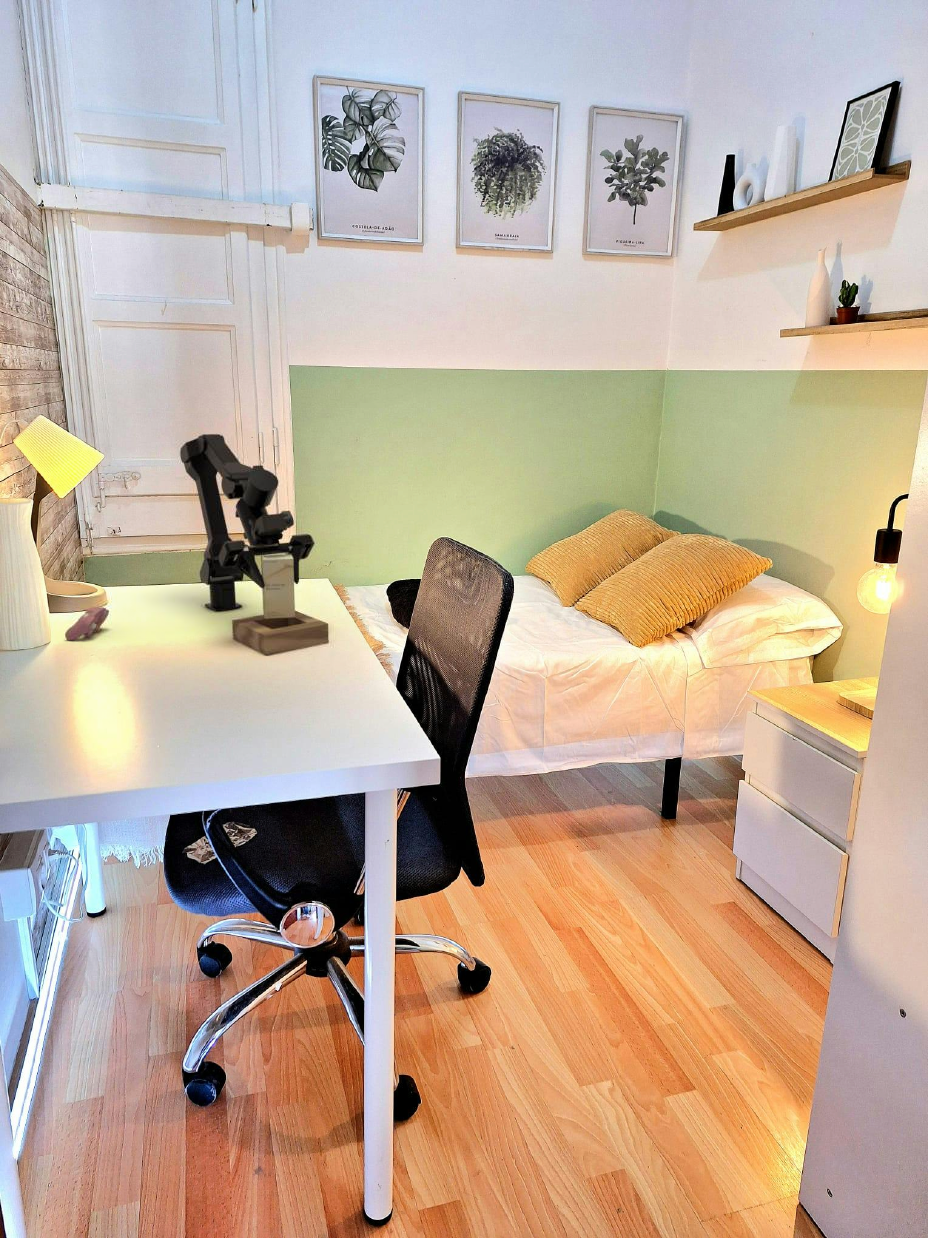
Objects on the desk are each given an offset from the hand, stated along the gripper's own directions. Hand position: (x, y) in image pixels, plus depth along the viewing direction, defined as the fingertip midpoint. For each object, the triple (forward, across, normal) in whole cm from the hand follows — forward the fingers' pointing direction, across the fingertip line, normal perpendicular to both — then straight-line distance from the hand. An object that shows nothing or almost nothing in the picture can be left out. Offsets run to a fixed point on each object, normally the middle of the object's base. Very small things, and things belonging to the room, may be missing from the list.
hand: (280, 585), depth 167 cm
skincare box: (+4, 0, +6) cm, 7 cm away
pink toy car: (-10, -31, +28) cm, 43 cm away
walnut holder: (+8, 0, +9) cm, 12 cm away
